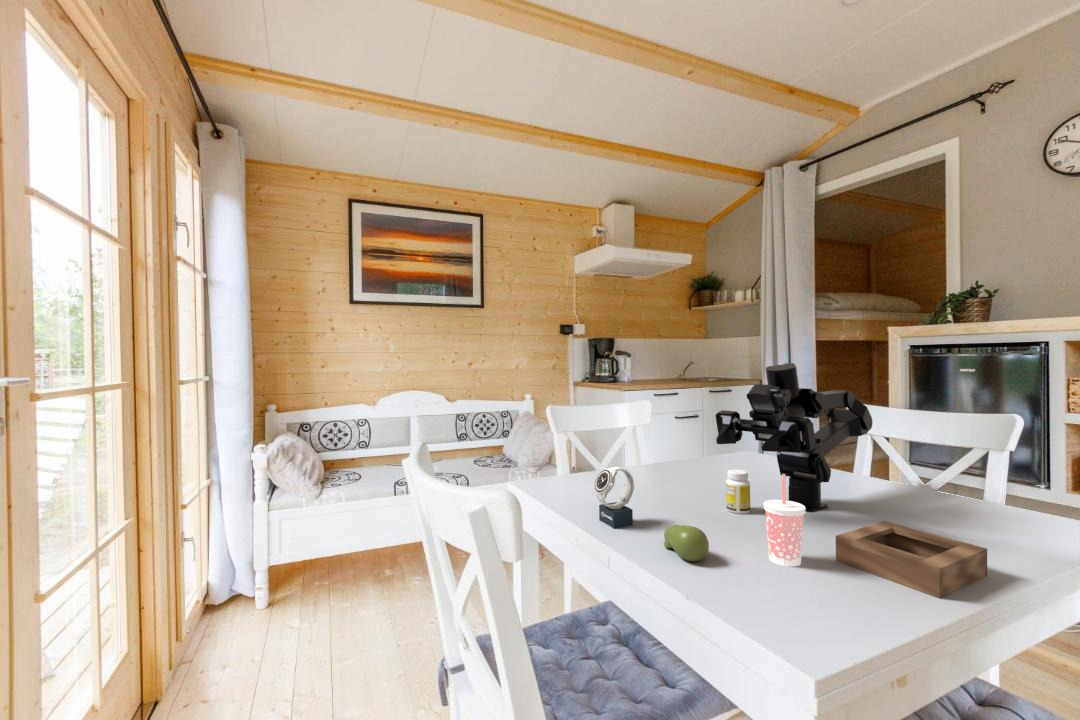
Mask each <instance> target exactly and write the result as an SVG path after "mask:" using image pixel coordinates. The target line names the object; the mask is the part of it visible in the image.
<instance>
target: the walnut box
mask: <svg viewBox="0 0 1080 720" xmlns="http://www.w3.org/2000/svg"><path fill="white" fill-rule="evenodd" d="M835 561H837V562H839V563H842V564H845V565H848V566H850V567H852V566H853V568H855V569H859V570H861V571H863V570H864V572H866V571H867V573H869V572H870V574H871V575H874V574H875V576H877V575H878V576H877V577H880V578H883V579H886V580H889V581H891V582H894V583H897V584H900V585H902V586H904V587H908V588H910V589H913V590H916V591H918V592H921V593H923V594H926V595H930V596H931V597H932V596H933V597H934V598H938V599H941V598H944V597H946V596H947V595H950V594H952V593H954V592H956V591H957V590H958V591H959V590H960V589H962V588H965V587H966V586H968V585H970V584H973V583H974V582H977V581H978V580H981V579H983V578H985V577H987V576H988V548H986V547H982V546H980V545H975V544H971V543H967V542H964V541H960V540H957V539H954V538H953V539H952V538H949V537H945V536H942V535H939V534H934V533H931V532H927V531H923V530H920V529H916V528H911V527H909V526H905V525H901V524H897V523H894V522H889V521H886V520H882V521H879V522H875V523H872V524H870V525H866V526H864V527H859V528H855V529H853V530H850V531H846V532H844V533H840V534H836V535H835Z"/></svg>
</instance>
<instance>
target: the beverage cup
mask: <svg viewBox="0 0 1080 720" xmlns="http://www.w3.org/2000/svg"><path fill="white" fill-rule="evenodd" d="M781 482H782V483H781V486H782V488H781V491H782V493H781V494H782V495H781V497H782V499H767V500H765V501H764V502H763V503H762V504H763V509H764V510H765V521H766V535H767V536H766V537H767V547H768V548H767V549H768V559H769V561H770V562H772V563H774V564H775V565H776V564H777V565H780V566H783V567H789V566H790V568H791V567H798V566H801V564H802V552H803V551H802V550H803V534H804V533H803V531H804V517H805V515H806V514H807V513H806V507H805V506H804V505H802V504H800V503H797V502H793V501H788V500H789V499H787V498H786V497H787V495H786V494H787V491H786V476H785V474H782V476H781ZM786 499H787V500H786Z"/></svg>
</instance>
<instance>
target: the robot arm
mask: <svg viewBox="0 0 1080 720" xmlns="http://www.w3.org/2000/svg"><path fill="white" fill-rule="evenodd" d="M765 374H766V382H767V384H756V383H755V384H754V385H753V386H752V387H751V388H750V390H749V391H748V392H747V394H746V399H747V400H748V402H749V404H750V407H751V410H749V412H748V413H749V418H751V419H746V418H741V415H740V413H739V412H738V411H736V410H735V411H734V410H733V411H732V410H725V409H724V410H720V411H718V412H717V413H716V414H715V423H716V426H717V427H716V428H717V437H716V439H715V441H716V445H727V444H728V445H730V444H732V445H733V444H734V445H735V444H737V443H738V442H740V441H742V437H743V432H750V433H752V434H753V435H754V439H755V441H760V442H763V443H762V444H761V451H762V452H772V453H773V452H776V460H777V461H776V462H777V464H778V465H777V466H778V470H779V473H780V474H779V475H780V476H781V477H782V474H785V477H788V499H787V500H788V501H793V502H797V503H800V504H802V505H804V506H805V507H806V510H805V512H806V511H807V512H815V511H817V510H822V509H825V508H828V507H829V504H828V503H827V504H826V503H823V502H822V495H821V493H822V488H821V487H822V486H821V485H822V484H821V483H829V482H830V480H831V477H832V475H831V474H832V469H831V468H830V466H829V464H828V462H827V460H826V459H825V456H826V455H828V454H829V453H830V452H831V451H833V450H834V449H835V448H837V447H838V446H839V445H840V444H842V443H843V442H844V441H846V439H848V438H853V437H862V436H864V435H866V434H868V433H869V432H870V430H872V428H873V417H872V414H871V413H870V410H869V407H868V406H866V405H865V404H864V403H862V402H861V401H860V400H858V399H857V398H856V397H855V395H854V393H853V391H849V390H848V389H847V390H845V389H831V390H827V391H815V390H813V389H812V388H807V387H806V388H805V387H804V388H803V387H802V388H801V387H800V384H799V377H798V370H797V365H796V364H795V363H793V362H792V363H788V362H787V363H786V362H785V363H783V364H777V365H768V366H766V367H765ZM825 411H826V413H825ZM824 414H825V417H826V419H827V422H828V423H827V424H825V425H824V426H823V427H821V428H820V429H818V430H817V431H816V432H815V426H814V423H813V421H811V419H818V418H820V417H822V416H823V415H824Z"/></svg>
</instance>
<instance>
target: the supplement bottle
mask: <svg viewBox="0 0 1080 720" xmlns="http://www.w3.org/2000/svg"><path fill="white" fill-rule="evenodd" d="M748 479H749V473H748V471H747V470H743V469H728V470H727V479H726V480H725V498H726V499H725V500H726V502H725V503H726V508H725V509H726V511H728V512H729V513H732V514H737V515H738V514H739V515H745V514H749V513H750V512H751V483H750V481H749V480H748Z"/></svg>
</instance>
